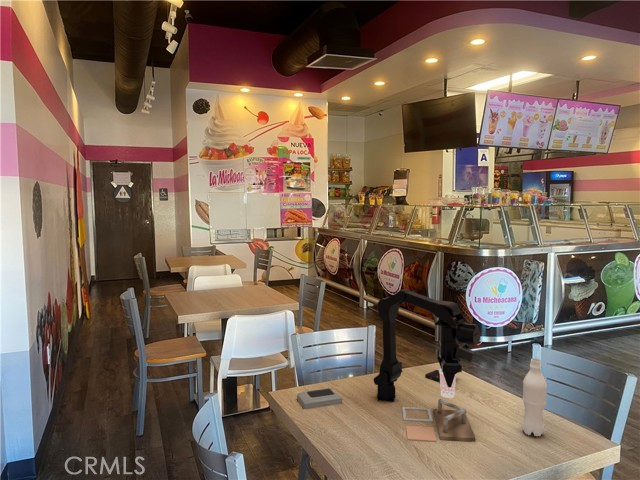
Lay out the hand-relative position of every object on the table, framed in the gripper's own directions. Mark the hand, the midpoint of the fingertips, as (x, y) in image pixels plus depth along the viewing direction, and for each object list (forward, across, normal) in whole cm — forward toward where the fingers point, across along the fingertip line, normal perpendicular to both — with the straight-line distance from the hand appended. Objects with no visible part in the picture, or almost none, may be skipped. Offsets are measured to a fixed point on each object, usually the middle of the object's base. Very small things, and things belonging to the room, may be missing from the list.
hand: (447, 382), depth 167 cm
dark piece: (+13, +38, -4) cm, 41 cm away
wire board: (+13, -5, -1) cm, 14 cm away
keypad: (+14, +10, +46) cm, 49 cm away
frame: (+13, +2, +10) cm, 17 cm away
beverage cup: (+5, 0, 0) cm, 5 cm away
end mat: (+13, -12, +10) cm, 20 cm away
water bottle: (+14, -7, -27) cm, 31 cm away
